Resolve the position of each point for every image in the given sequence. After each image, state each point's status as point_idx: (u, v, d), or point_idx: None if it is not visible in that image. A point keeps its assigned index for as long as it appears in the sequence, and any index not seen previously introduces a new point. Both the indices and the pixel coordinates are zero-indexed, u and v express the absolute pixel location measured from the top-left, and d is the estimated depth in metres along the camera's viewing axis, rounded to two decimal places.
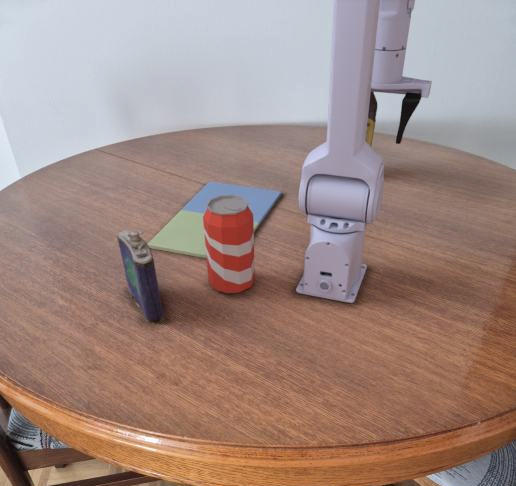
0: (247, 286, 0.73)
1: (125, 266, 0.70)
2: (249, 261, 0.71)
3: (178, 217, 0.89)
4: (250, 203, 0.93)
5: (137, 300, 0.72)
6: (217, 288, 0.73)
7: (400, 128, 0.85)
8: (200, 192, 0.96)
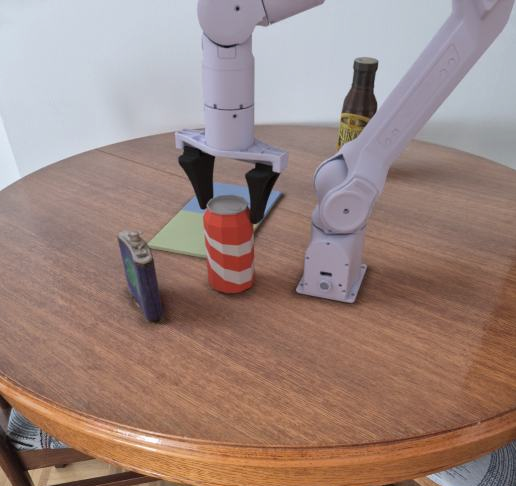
0: (247, 286, 0.73)
1: (125, 266, 0.70)
2: (249, 261, 0.71)
3: (178, 217, 0.89)
4: None
5: (137, 300, 0.72)
6: (217, 288, 0.73)
7: (252, 206, 0.66)
8: None
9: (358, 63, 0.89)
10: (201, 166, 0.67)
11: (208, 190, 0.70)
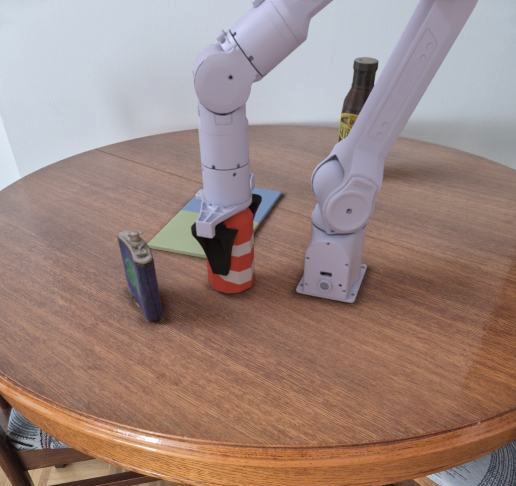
0: (247, 286, 0.73)
1: (125, 266, 0.70)
2: (249, 261, 0.71)
3: (178, 217, 0.89)
4: None
5: (137, 300, 0.72)
6: (217, 288, 0.73)
7: None
8: None
9: (358, 63, 0.89)
10: None
11: None
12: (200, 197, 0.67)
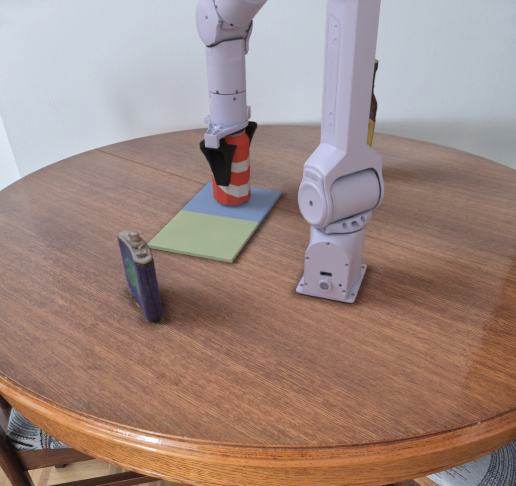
0: (244, 200, 0.92)
1: (125, 266, 0.70)
2: (246, 178, 0.89)
3: (178, 217, 0.89)
4: (250, 203, 0.93)
5: (137, 300, 0.72)
6: (220, 201, 0.91)
7: None
8: (200, 192, 0.96)
9: None
10: None
11: None
12: (207, 120, 0.85)
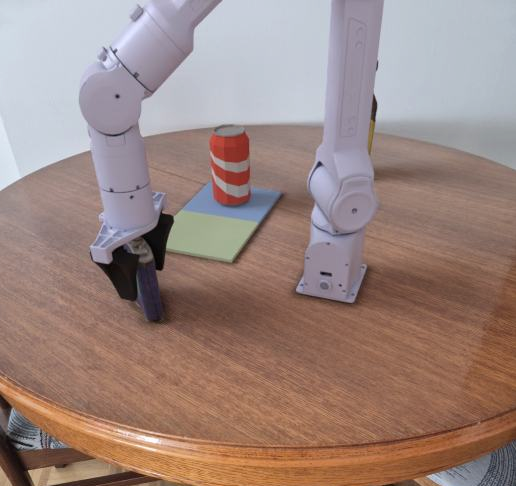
0: (244, 200, 0.92)
1: None
2: (246, 178, 0.89)
3: (178, 217, 0.89)
4: (250, 203, 0.93)
5: (137, 300, 0.72)
6: (220, 201, 0.91)
7: (163, 253, 0.70)
8: (200, 192, 0.96)
9: None
10: None
11: None
12: (103, 219, 0.64)
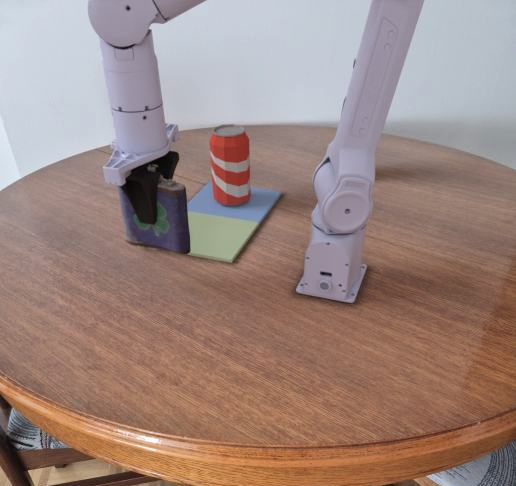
0: (244, 200, 0.92)
1: (131, 212, 0.68)
2: (246, 178, 0.89)
3: None
4: (250, 203, 0.93)
5: (150, 244, 0.71)
6: (220, 201, 0.91)
7: None
8: (200, 192, 0.96)
9: None
10: None
11: None
12: (114, 146, 0.63)
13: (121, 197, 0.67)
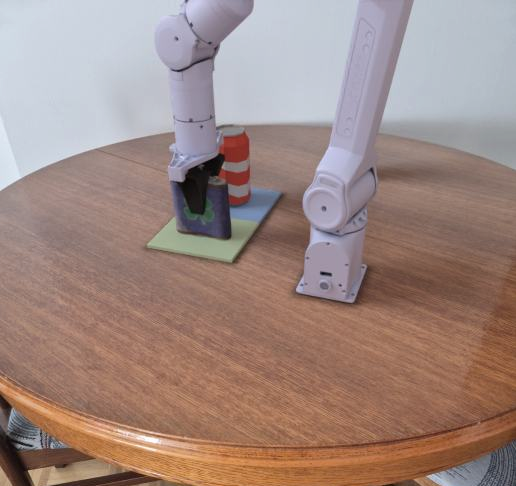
0: (244, 200, 0.92)
1: (182, 206, 0.82)
2: (246, 178, 0.89)
3: None
4: (250, 203, 0.93)
5: (197, 232, 0.84)
6: None
7: None
8: None
9: None
10: None
11: None
12: (173, 149, 0.77)
13: (173, 193, 0.81)
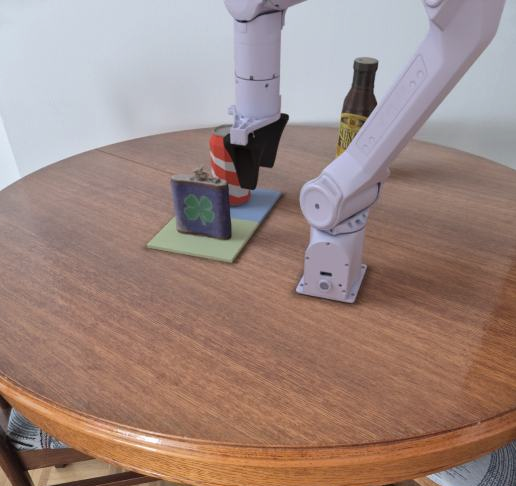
0: (244, 200, 0.92)
1: (182, 206, 0.82)
2: None
3: None
4: (250, 203, 0.93)
5: (197, 232, 0.84)
6: None
7: (276, 150, 0.78)
8: None
9: (358, 63, 0.89)
10: None
11: None
12: (232, 111, 0.72)
13: (174, 193, 0.81)
